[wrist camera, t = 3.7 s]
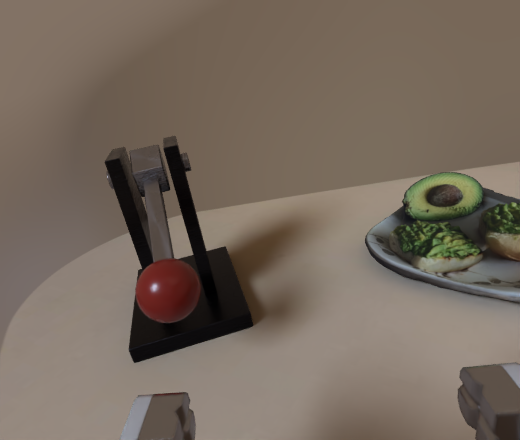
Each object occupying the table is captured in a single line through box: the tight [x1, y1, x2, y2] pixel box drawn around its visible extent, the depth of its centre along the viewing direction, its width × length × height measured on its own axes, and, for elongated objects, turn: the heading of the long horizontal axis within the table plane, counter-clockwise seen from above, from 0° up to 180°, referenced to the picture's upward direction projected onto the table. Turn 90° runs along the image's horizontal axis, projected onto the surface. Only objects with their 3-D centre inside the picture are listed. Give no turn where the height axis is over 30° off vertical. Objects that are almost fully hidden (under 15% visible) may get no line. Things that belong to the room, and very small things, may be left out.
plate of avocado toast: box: [365, 172, 520, 303], centre depth 31 cm, size 19×18×5 cm
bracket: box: [105, 136, 253, 363], centre depth 30 cm, size 12×9×14 cm
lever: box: [130, 145, 201, 323], centre depth 25 cm, size 14×4×4 cm, turn 14°
